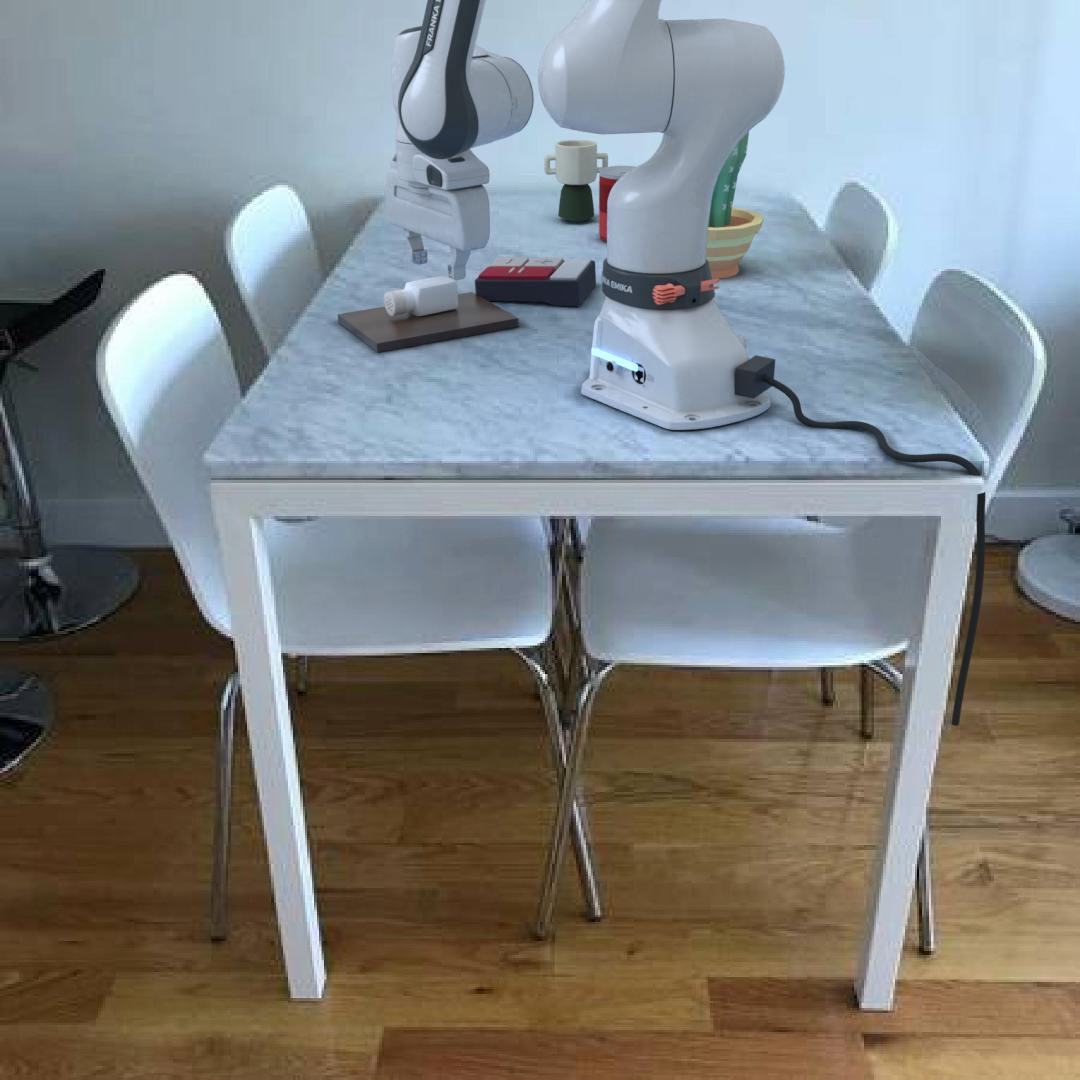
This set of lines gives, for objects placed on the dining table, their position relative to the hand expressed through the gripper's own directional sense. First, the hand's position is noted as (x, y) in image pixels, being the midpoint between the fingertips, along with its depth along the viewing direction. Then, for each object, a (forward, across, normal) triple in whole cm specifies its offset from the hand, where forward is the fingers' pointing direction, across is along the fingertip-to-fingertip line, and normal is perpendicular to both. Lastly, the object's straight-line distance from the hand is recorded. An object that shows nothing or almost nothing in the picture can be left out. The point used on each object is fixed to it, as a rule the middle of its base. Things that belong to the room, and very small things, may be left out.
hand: (437, 270), depth 161 cm
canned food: (+7, -19, +47) cm, 51 cm away
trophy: (+7, -34, +49) cm, 60 cm away
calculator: (+7, -3, +18) cm, 19 cm away
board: (+7, 0, -2) cm, 7 cm away
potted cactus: (+7, +4, +45) cm, 46 cm away
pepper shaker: (+4, -2, +3) cm, 5 cm away
